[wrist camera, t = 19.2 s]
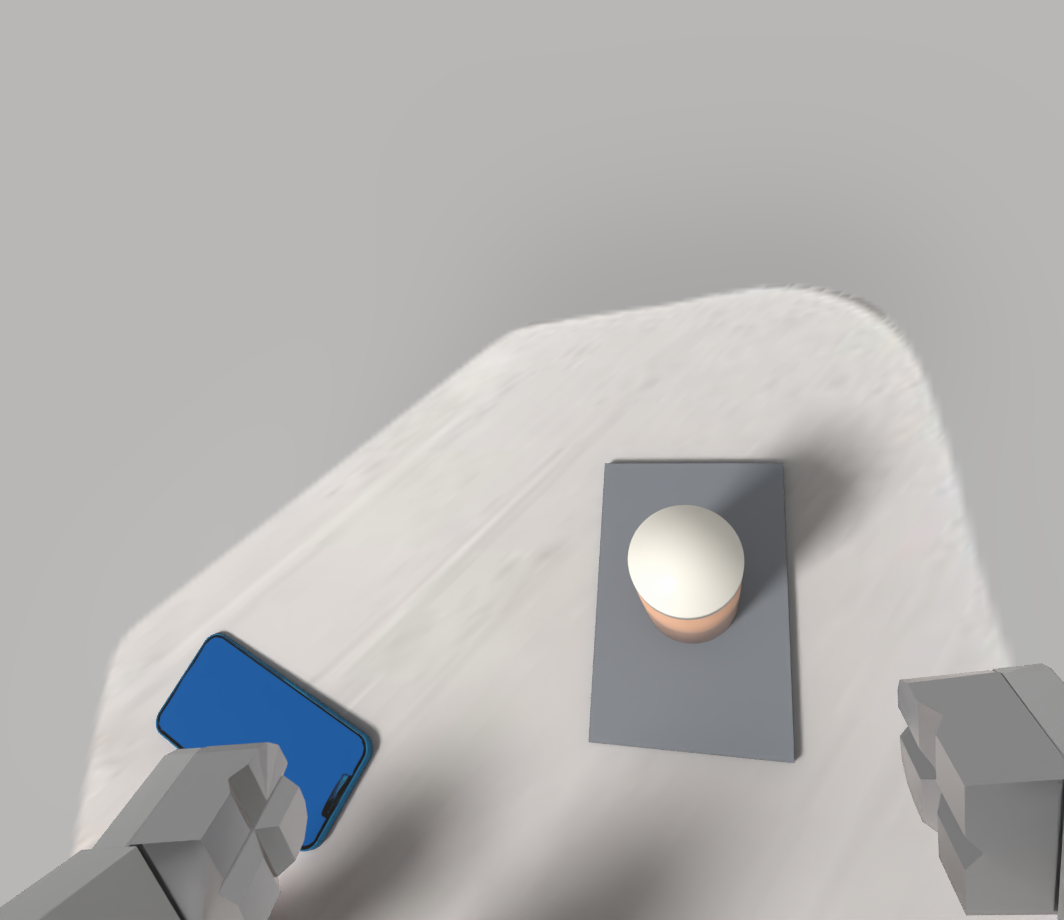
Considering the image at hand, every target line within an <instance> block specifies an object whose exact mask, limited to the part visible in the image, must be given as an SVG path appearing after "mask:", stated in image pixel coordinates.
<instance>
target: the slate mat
mask: <svg viewBox="0 0 1064 920" xmlns="http://www.w3.org/2000/svg"><path fill="white" fill-rule="evenodd" d="M676 505H693V506H699V507H702V508H706V509H708V510H710V511H713V512H714V513H716V514H718V515H719V516H721V517H722V518H723V519H725V520H726V521H727V522H728V523H729V524H730V525H731V527H732V528H733V529H734V531H735V532H736V534H737V535H738V537H739V539H740V542H741V544H742V548H743V552H744V571H743V578H742V584H741V591H740V598H739V604H738V610H737V613H736V616H735V618H734V620H733V622H732V623H731V625H730V626H729V627H728V628H727V630H726V631H724V632H723V633H722V634H721V635H719V636H718V637H716V638H714V639H712V640H710V641H707V642H703V643H695V644H690V643H683V642H679V641H676V640H673V639H671V638H669V637H667V636H666V635H664V634H663V633H661V632H660V631H659V630H658V629H657V628H656V627H655V626H654V624H653V623H652V621H651V620H650V618H649V616H648V614H647V612H646V610H645V608H644V606H643V603H642V601H641V599H640V597H639V595H638V592H637V590H636V588H635V586H634V584H633V581H632V579H631V576H630V573H629V568H628V551H629V546H630V543H631V540H632V537H633V536H634V534H635V532H636V530H637V529H638V527H639V526H640V525H641V524H642V523H643V522H644V521H645V520H646V519H647V518H648V517H649V516H651V515H652V514H654V513H655V512H657V511H660V510H662V509H664V508H667V507H671V506H676ZM589 742H592V743H602V744H612V745H622V746H632V747H642V748H652V749H661V750H671V751H681V752H691V753H701V754H711V755H721V756H731V757H741V758H750V759H760V760H770V761H780V762H790V763H794V739H793V713H792V687H791V661H790V635H789V609H788V583H787V557H786V531H785V505H784V479H783V463H605V472H604V489H603V506H602V523H601V540H600V557H599V574H598V591H597V608H596V625H595V642H594V659H593V676H592V693H591V710H590V727H589Z"/></svg>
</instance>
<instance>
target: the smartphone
mask: <svg viewBox="0 0 1064 920" xmlns="http://www.w3.org/2000/svg"><path fill="white" fill-rule="evenodd" d="M156 728H157V730H158V732H159V733H160V734H161V735H162V736H163V737H164V738H166V739H167V740H168V741H169V742H170V743H172V744H173V745H174V746H175V747H176V748H177V749H189V748H205V747H207V746H220V745H234V744H248V743H262V742H269V743H273V744H277V745H279V747H280V749H281V751H282V752H283V754H284V756H285V758H286V760H287V762H288V764H287V767H286V770H285V772H284V776H285V777H286V778H288V779H289V780H291V781H292V782H293V783H295V784H296V785H297V786H299V788H300V790H301V792H302V795H303V797H304V799H305V804H306V810H307V817H308V818H307V825H306V832H305V839H304V842H303V844H302V847H301V849H300V851H309V850H313V849H315V848H317V847H319V846H320V845H321V843H322V842H323V840H324V839H325V837H326V835H327V833H328V832H329V830H330V828H331V826H332V825H333V823H334V821H335V819H336V817H337V816H338V814H339V812H340V810H341V809H342V807H343V805H344V803H345V802H346V800H347V798H348V796H349V794H350V793H351V791H352V789H353V787H354V786H355V784H356V782H357V780H358V778H359V777H360V775H361V773H362V771H363V770H364V768H365V766H366V764H367V763H368V761H369V759H370V757H371V754H372V743H371V740H370V738H369V737H368V736H367V735H366V734H365V733H363V732H362V731H361V730H359V729H358V728H356V727H355V726H354V725H352V724H351V723H349V722H348V721H347V720H345V719H344V718H342V717H341V716H339V715H338V714H337V713H335V712H334V711H333V710H331V709H330V708H329V707H327V706H326V705H324V704H323V703H321V702H319V700H317V699H316V698H314V697H313V696H312V695H310V694H309V693H307V692H305V691H304V690H302V689H301V688H299V687H298V686H297V685H295V684H294V683H292V682H291V681H289V680H288V679H287V678H285V677H284V676H282V675H281V674H279V673H278V672H277V671H275V670H274V669H272V668H271V667H269V666H268V665H267V664H265V663H264V662H262V661H261V660H260V659H258V658H257V657H255V656H254V655H253V654H251V653H250V652H248V651H247V650H246V649H244V648H243V647H241V646H240V645H238V644H237V643H236V642H234V641H233V640H231V639H230V638H228V637H227V636H225V635H222V634H213V635H211V636H210V637H208V638H207V639H206V640H205V642H204V643H203V645H202V646H201V648H200V650H199V651H198V653H197V654H196V656H195V657H194V659H193V660H192V662H191V664H190V665H189V667H188V668H187V670H186V671H185V673H184V674H183V676H182V677H181V679H180V681H179V682H178V684H177V685H176V687H175V688H174V690H173V691H172V693H171V695H170V696H169V698H168V699H167V701H166V702H165V704H164V705H163V707H162V708H161V710H160V712H159V713H158V716H157V719H156Z"/></svg>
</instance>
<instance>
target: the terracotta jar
mask: <svg viewBox="0 0 1064 920" xmlns="http://www.w3.org/2000/svg"><path fill="white" fill-rule="evenodd" d="M628 568H629V573H630V576H631V579H632V581H633V584H634V586H635V588H636V590H637V592H638V595H639V597H640V599H641V601H642V603H643V606H644V608H645V610H646V612H647V614H648V616H649V618H650V620H651V621H652V623H653V624H654V626H655V627H656V628H657V629H658V630H659V631H660V632H661V633H663V634H664V635H666V636H667V637H669V638H671V639H673V640H676V641H679V642H683V643H690V644H695V643H703V642H707V641H710V640H712V639H714V638H716V637H718V636H719V635H721V634H722V633H723V632H724V631H726V630H727V628H728V627H729V626H730V625H731V623H732V622H733V620H734V618H735V616H736V613H737V610H738V604H739V598H740V591H741V584H742V578H743V571H744V552H743V548H742V544H741V542H740V539H739V537H738V535H737V534H736V532H735V531H734V529H733V528H732V527H731V525H730V524H729V523H728V522H727V521H726V520H725V519H723V518H722V517H721V516H719V515H718V514H716V513H714V512H713V511H710V510H708V509H706V508H702V507H699V506H693V505H676V506H671V507H667V508H664V509H662V510H660V511H657V512H655V513H654V514H652V515H651V516H649V517H648V518H647V519H646V520H645V521H644V522H643V523H642V524H641V525H640V526H639V527H638V529H637V530H636V532H635V534H634V536H633V537H632V540H631V543H630V546H629V551H628Z"/></svg>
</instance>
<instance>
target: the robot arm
mask: <svg viewBox="0 0 1064 920" xmlns="http://www.w3.org/2000/svg"><path fill="white" fill-rule="evenodd" d="M898 707H899V709H900V711H901V713H902V715H903V717H904V719H905V721H906V723H907V725H908V727H907V728H906V729H905V731H904V732H903V733H902V734H901V735H900V744H901V755H902V762H903V766H904V771H905V775H906V780H907V784H908V787H909V789H910V792H911V795H912V798H913V801H914V803H915V805H916V808H917V810H918V812H919V814H920V817H921V819H922V821H923V822H924V823H925V824H927V825H928V826H930V827H931V828H932V829H934V830H935V831H936V832H938V845H939V858H940V860H941V863H942V865H943V867H944V869H945V871H946V873H947V875H948V878H949V880H950V882H951V884H952V886H953V888H954V890H955V892H956V895H957V897H958V899H959V901H960V903H961V905H962V907H963V910H964V912H965V914H966V915H1044V914H1058V918H1057V919H1058V920H1064V682H1063V681H1062V680H1061V679H1060V678H1059V677H1058V676H1057V674H1056V673H1055V672H1054V671H1053V670H1052V669H1051V668H1049V667H1047V666H1045V665H1043V664H1033V665H1024V666H1016V667H1007V668H999V669H993V670H992V671H989V670H987V671H978V672H969V673H959V674H950V675H940V676H931V677H921V678H912V679H902V680H900V681H899V686H898ZM287 764H288V762H287V760H286V758H285V756H284V754H283V752H282V751H281V749H280V747H279V745H277V744H273V743H269V742H262V743H248V744H234V745H220V746H207V747H205V748H189V749H176V750H175V751H173V752H171V753H169V754H167V755H165V756H164V757H163V758H162V760H161V761H160V762H159V763H158V765H157V766H156V767H155V769H154V770H153V771H152V772H151V774H150V775H149V776H148V778H147V779H146V780H145V781H144V783H143V784H142V785H141V787H140V788H139V789H138V790H137V792H136V793H135V794H134V796H133V797H132V798H131V799H130V801H129V802H128V803H127V805H126V806H125V807H124V808H123V810H122V811H121V812H120V813H119V815H118V816H117V817H116V819H115V820H114V821H113V822H112V824H111V825H110V826H109V828H108V829H107V830H106V831H105V833H104V834H103V835H102V837H101V838H100V839H99V840H98V842H97V843H96V844H95V846H94V847H93V848H92V849H89V850H81V851H80V852H78V853H77V854H75V855H74V856H73V857H71V858H70V859H68V860H67V861H66V862H64V863H63V864H61V865H60V866H58V867H57V868H56V869H54V870H53V871H51V872H50V873H49V874H47V875H46V876H44V877H43V878H41V879H40V880H39V881H37V882H36V883H34V884H33V885H31V886H30V887H29V888H27V889H26V890H24V891H23V892H21V893H20V894H19V895H17V896H16V897H14V898H13V899H12V900H10V901H9V902H7V903H6V904H5V905H3V906H2V907H0V920H268V918H269V916H270V914H271V911H272V909H273V907H274V905H275V903H276V901H277V899H278V897H279V894H280V892H281V891H280V886H279V881H278V876H279V875H280V874H281V873H282V872H283V871H284V870H285V869H287V868H288V867H289V866H290V865H291V864H292V863H293V862H294V861H295V860H296V858H297V856H298V853H299V851H300V849H301V847H302V844H303V842H304V839H305V832H306V825H307V818H308V817H307V810H306V804H305V799H304V797H303V795H302V792H301V790H300V788H299V786H297V785H296V784H295V783H293V782H292V781H291V780H289V779H288V778H286V777H285V776H284V772H285V770H286V767H287Z"/></svg>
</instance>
